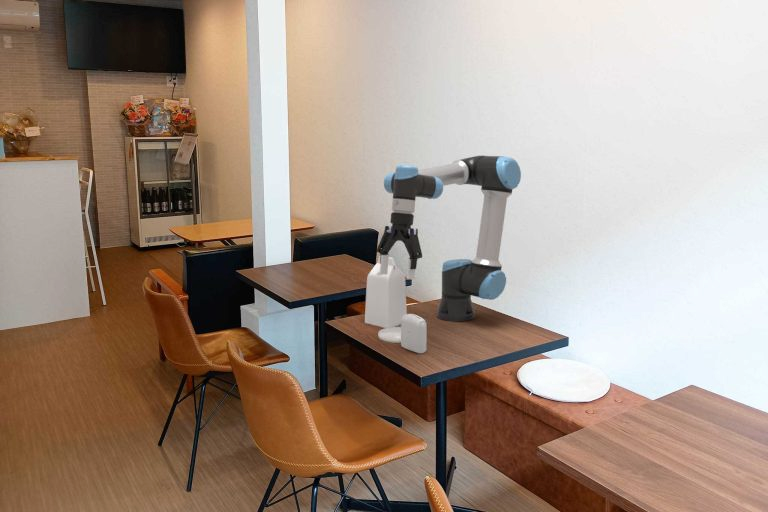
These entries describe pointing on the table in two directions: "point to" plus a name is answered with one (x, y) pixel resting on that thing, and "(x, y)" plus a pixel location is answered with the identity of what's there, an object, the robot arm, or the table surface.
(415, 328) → the photo printer
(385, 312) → the milk
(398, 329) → the white plate
